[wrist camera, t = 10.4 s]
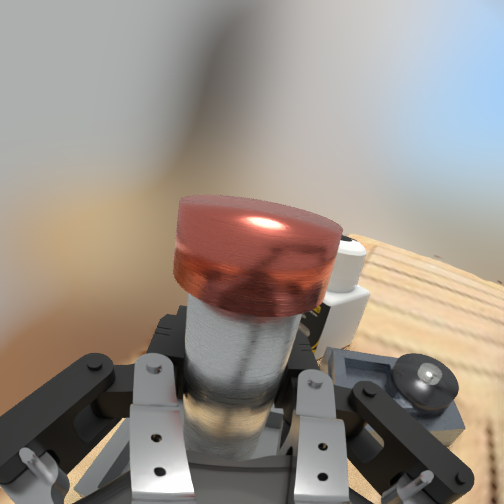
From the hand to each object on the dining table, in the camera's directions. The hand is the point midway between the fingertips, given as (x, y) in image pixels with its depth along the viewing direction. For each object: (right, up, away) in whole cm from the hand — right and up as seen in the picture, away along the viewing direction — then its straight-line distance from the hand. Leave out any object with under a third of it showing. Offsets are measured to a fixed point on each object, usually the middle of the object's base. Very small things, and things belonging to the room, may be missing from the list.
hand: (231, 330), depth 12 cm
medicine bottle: (+8, -6, +18) cm, 21 cm away
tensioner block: (+13, -11, +8) cm, 18 cm away
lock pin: (-1, -8, 0) cm, 8 cm away
